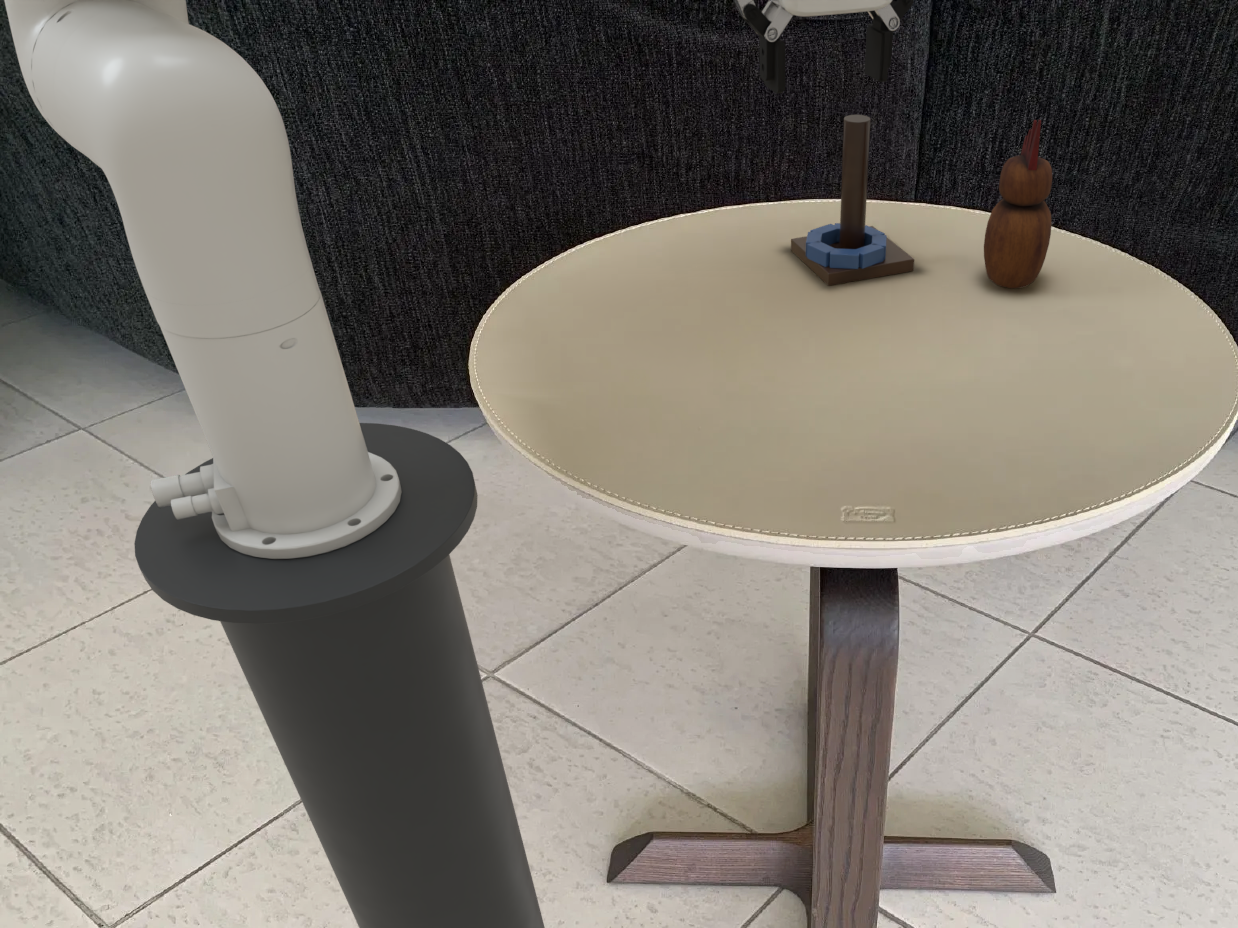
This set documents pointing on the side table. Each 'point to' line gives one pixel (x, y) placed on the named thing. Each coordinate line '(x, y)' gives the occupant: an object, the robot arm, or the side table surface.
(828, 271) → the post
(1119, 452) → the side table surface
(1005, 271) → the wooden figurine
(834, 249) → the ring
